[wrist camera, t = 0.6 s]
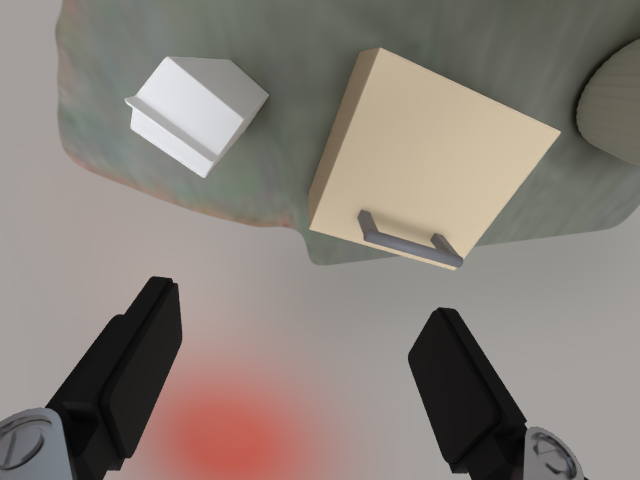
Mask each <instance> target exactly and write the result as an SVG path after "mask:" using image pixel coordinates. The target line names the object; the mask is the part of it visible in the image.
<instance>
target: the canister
mask: <svg viewBox="0 0 640 480" xmlns="http://www.w3.org/2000/svg"><path fill="white" fill-rule="evenodd" d="M578 103H579V104H578V108H577V115H576V119H577V126H578V130H579V132H580V133H581V135H582V137H583V138H584V139H586V140H587V141H588V142H589V143H590V144H591V145H593V146H595V147H597V148H599V149H601V150H603V151H605V152H607V153H609V154H611V155H613V156H615V157H617V158H619V159H621V160H623V161H625V162H628V163H630V164H632V165H634V166H636V167H639V168H640V39H637V40H635V41H634V42H632V43H631V44H629V45H627V46H625V47H623V48H622V49H620V50H619V51H618V52H617V53H615V54H613V55H612V56H611V57H610V59H608V60H607V61H605V62H604V63H603V65H602V66H601V67H600V68H599V69H598V70H597V71H596V73H595V74H594V75H593V77H591V78H590V81H589V83H588V84H587V85H586V86H585V89H584V91H583V93H582V94H581V98H580V100H579V102H578Z"/></svg>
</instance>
